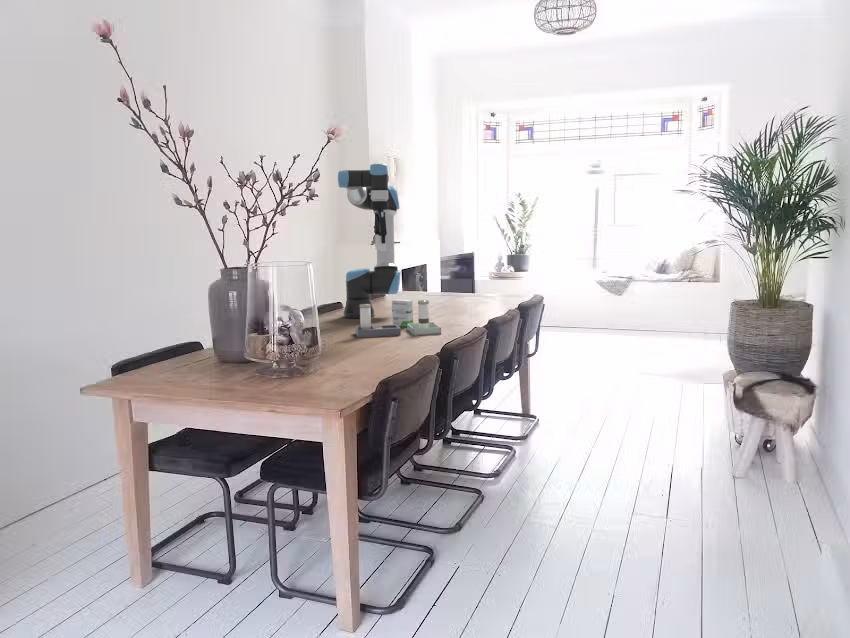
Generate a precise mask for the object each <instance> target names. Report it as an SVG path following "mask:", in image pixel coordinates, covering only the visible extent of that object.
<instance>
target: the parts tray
mask: <svg viewBox="0 0 850 638" xmlns="http://www.w3.org/2000/svg"><path fill="white" fill-rule="evenodd" d="M406 329H407V331H408V332H409V333H410V334H411V335H412V336H428V335H442V327H441V326H440V325H438V324H437V323H436V322H435V321H434V322H432V321H431V322H430V321H429V328H419V322H415V323H414V322H413V323H408V324H407V327H406Z"/></svg>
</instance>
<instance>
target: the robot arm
mask: <svg viewBox="0 0 850 638" xmlns="http://www.w3.org/2000/svg"><path fill="white" fill-rule="evenodd" d="M388 172H389V170H388V164H386V163H372V164H370V165H369V169H361V170H360V169H359V170H358V169H356V170H355V169H354V170H353V169H351V170H350V169H348V170H347V169H345V170H339V171H338V173H337V184H338V187H339V188H340V189H343V188H344V189H346V196H347V199H348V202H349V203H350V204H352V206H354V207H356V208H358V209H362V210H365V211H366V210H367V211H368V210H370V211H371V210H372V212H373V215H374V231H373V233H374V238H375V239H374V240H375V242H374V243H375V250H376V265H375V266H374V267H373V270H371V269H370V268H368V267H366V268H365V267H364V268H357V269H352V270H349V271H347V272H346V274H345V283H346V292H345V293H346V303H345V307H344V309H343V317H344V318H346V319H347V318H348V319H360V304H371V307H370V308H371V318H372V317H374V316H375V310H374V307H373V304H372V300H371V295H373V296H376V295H380V296H381V295H388V296H391V295H396V294H398V293H399V291H400V290H399V289H400V284H401V272H402V271H401V270H399V267H398V266H397V265H396V264H395V225H394V223H395V222H394V221H395V219H394V217H395V215H397V212H398V211H399V210H400V201H399V195H398V189H397V187H396V186H394V185H389V180H390V179H389V174H388Z"/></svg>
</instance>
